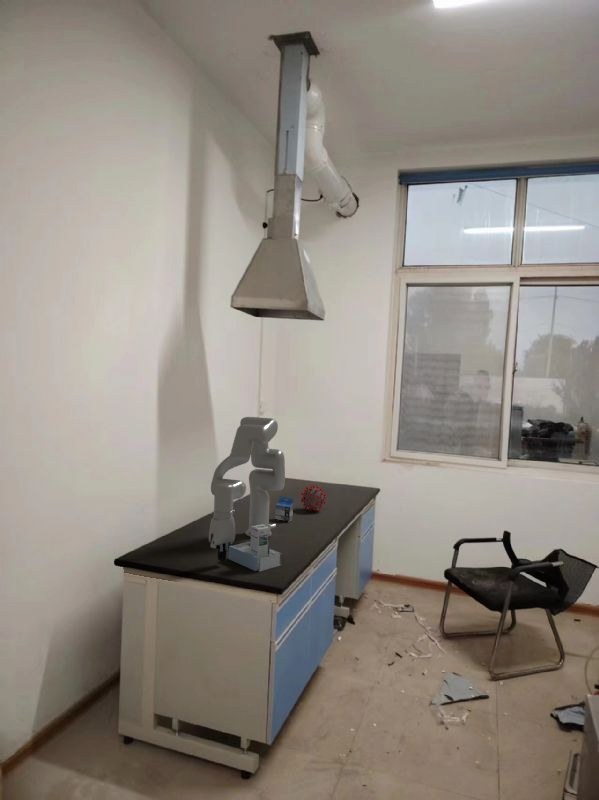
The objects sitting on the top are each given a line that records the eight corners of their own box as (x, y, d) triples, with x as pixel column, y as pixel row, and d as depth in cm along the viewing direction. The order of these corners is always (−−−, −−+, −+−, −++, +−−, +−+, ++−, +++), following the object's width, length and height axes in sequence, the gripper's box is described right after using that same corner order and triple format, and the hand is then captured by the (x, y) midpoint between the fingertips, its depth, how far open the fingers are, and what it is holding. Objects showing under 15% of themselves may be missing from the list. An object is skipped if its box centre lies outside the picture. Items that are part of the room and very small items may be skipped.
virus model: (325, 508, 304) (327, 483, 303) (324, 515, 289) (325, 488, 288) (301, 507, 305) (302, 482, 305) (299, 513, 290) (300, 487, 290)
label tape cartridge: (274, 519, 274) (275, 497, 274) (278, 518, 277) (279, 495, 277) (289, 522, 270) (290, 499, 269) (292, 521, 273) (293, 498, 273)
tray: (250, 553, 218) (250, 540, 218) (277, 564, 206) (277, 551, 206) (228, 559, 210) (229, 546, 210) (255, 571, 198) (255, 557, 198)
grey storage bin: (250, 552, 220) (250, 541, 220) (280, 565, 206) (281, 553, 206) (229, 558, 212) (229, 546, 212) (259, 571, 198) (260, 559, 198)
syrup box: (257, 565, 201) (258, 529, 201) (249, 560, 206) (250, 525, 206) (269, 562, 205) (270, 527, 204) (261, 558, 210) (262, 523, 209)
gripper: (232, 509, 210) (231, 553, 211) (202, 515, 200) (200, 561, 200) (244, 513, 205) (242, 558, 206) (213, 519, 194) (211, 567, 195)
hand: (221, 559), depth 203 cm, fingers closed
